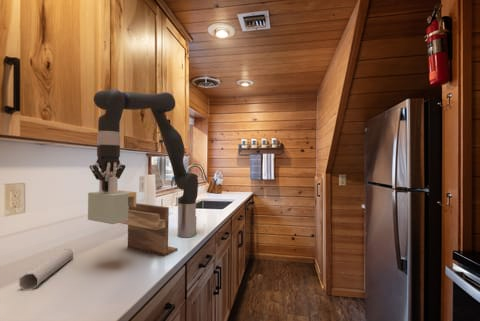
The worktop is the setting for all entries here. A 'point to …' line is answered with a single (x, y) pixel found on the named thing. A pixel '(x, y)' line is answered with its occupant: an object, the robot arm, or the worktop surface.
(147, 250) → the wall board
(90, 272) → the worktop surface
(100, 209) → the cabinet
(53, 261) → the tube
